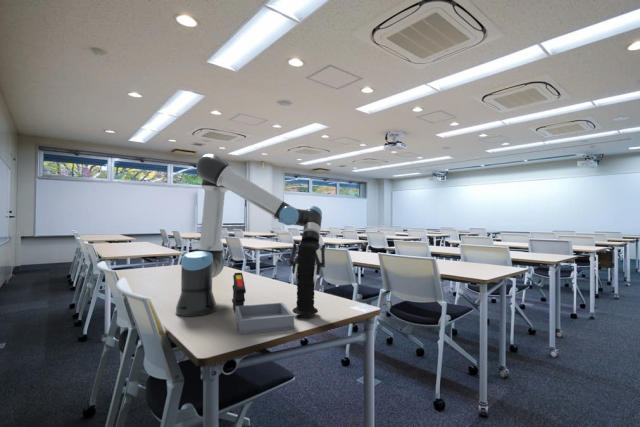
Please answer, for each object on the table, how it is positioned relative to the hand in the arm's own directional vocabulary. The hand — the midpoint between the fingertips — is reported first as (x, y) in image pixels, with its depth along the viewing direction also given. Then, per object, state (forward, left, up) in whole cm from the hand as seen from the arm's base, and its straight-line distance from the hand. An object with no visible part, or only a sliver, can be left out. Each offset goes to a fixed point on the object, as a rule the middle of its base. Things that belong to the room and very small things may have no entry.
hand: (304, 280), depth 121 cm
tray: (-16, -1, -14) cm, 21 cm away
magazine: (-23, +17, -15) cm, 32 cm away
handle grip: (+1, +3, -13) cm, 13 cm away
